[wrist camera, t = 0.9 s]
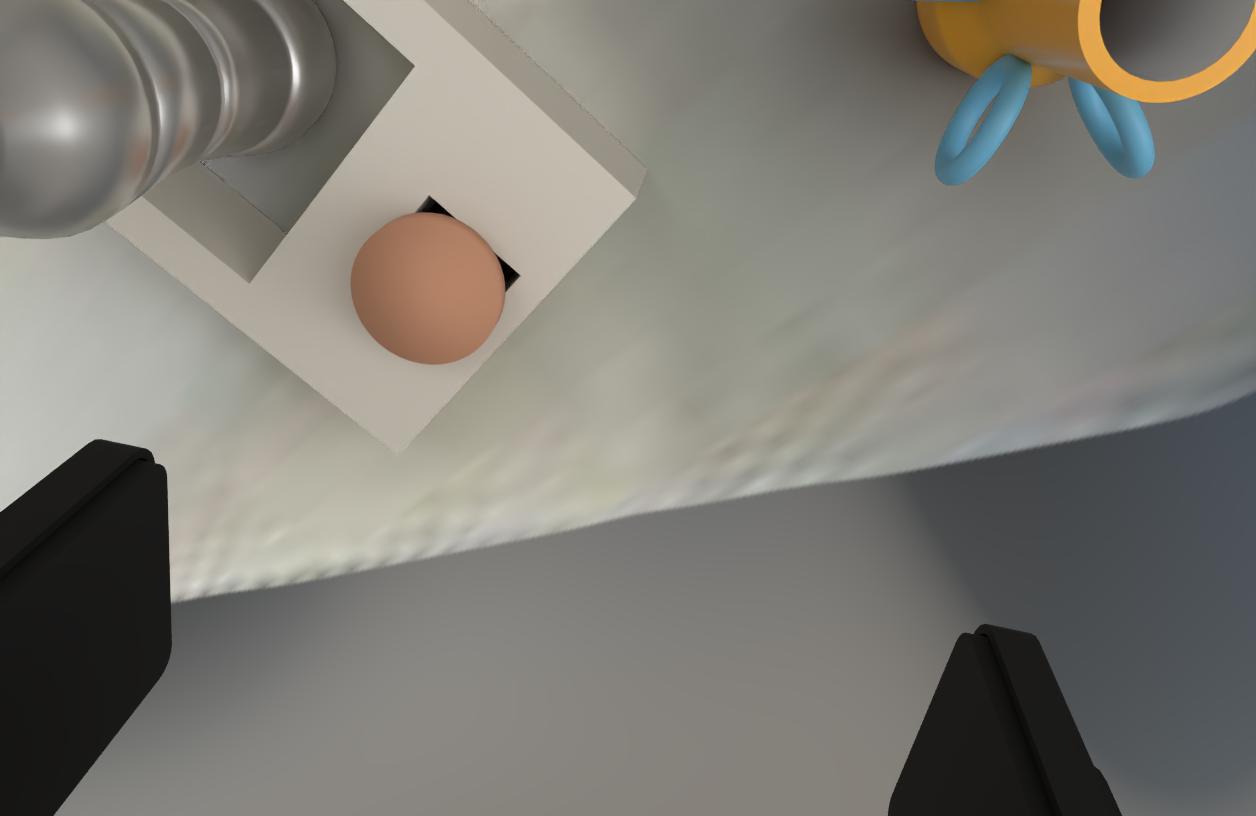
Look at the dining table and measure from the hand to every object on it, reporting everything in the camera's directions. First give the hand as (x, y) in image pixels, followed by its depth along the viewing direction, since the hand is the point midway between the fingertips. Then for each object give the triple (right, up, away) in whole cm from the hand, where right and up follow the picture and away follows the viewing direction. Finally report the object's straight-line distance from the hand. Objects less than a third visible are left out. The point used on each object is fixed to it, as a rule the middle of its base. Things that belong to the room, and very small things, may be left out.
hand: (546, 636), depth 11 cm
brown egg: (-6, +9, +27) cm, 29 cm away
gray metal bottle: (-13, +16, +27) cm, 34 cm away
